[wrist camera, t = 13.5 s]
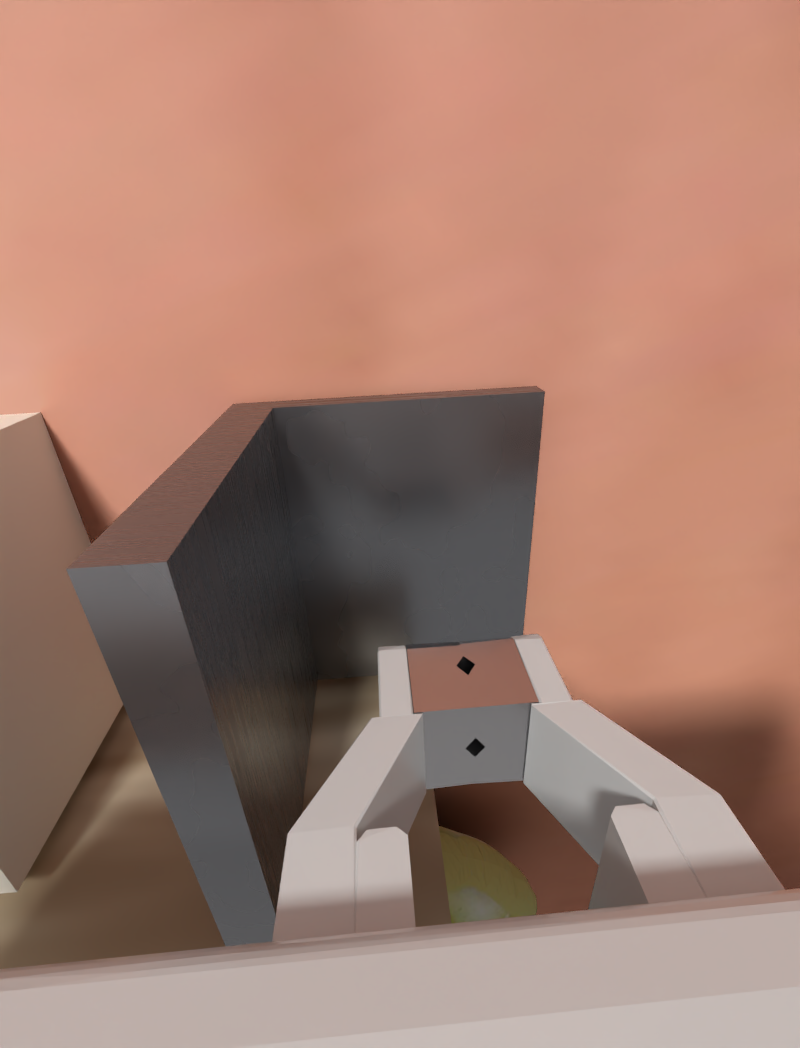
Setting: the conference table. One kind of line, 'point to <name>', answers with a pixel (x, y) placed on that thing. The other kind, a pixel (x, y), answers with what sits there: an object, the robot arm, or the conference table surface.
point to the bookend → (300, 596)
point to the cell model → (482, 881)
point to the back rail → (169, 852)
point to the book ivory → (42, 649)
